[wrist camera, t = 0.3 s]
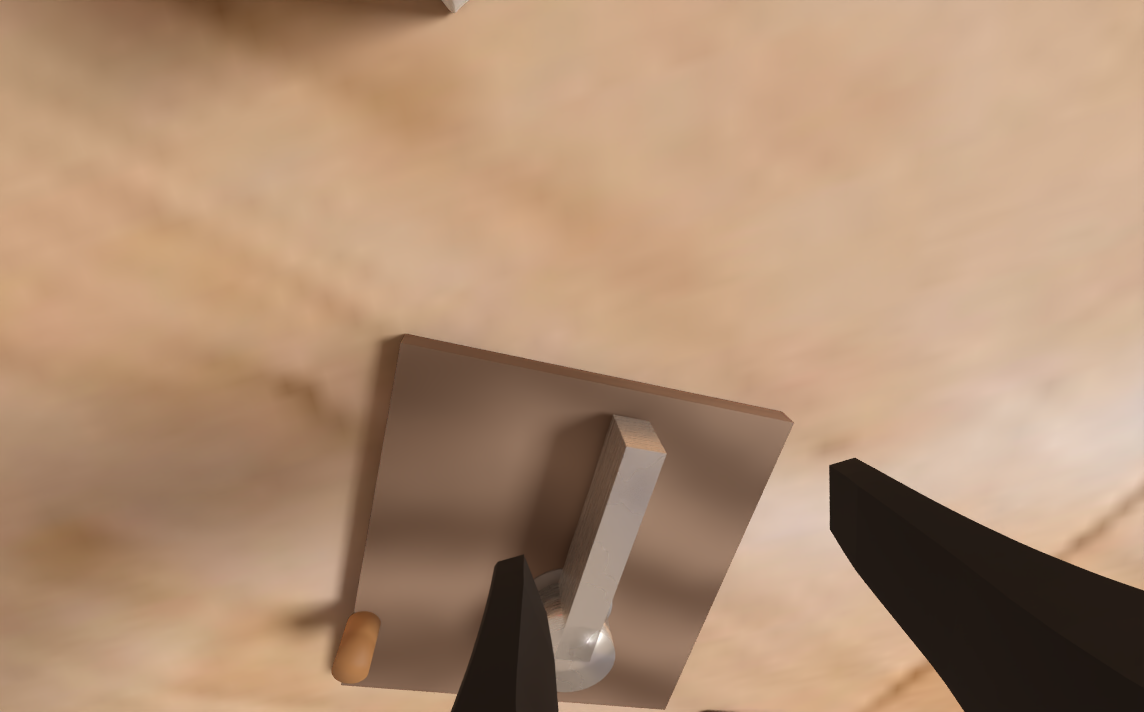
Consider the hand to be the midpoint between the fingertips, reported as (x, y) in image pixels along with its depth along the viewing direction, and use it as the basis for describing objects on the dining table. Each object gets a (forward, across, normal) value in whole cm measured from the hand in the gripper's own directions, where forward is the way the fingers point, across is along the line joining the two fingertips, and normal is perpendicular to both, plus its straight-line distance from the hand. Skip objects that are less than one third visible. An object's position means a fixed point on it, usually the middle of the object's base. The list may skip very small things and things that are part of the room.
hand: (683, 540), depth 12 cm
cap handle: (+8, +2, +8) cm, 11 cm away
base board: (+9, +4, +9) cm, 13 cm away
